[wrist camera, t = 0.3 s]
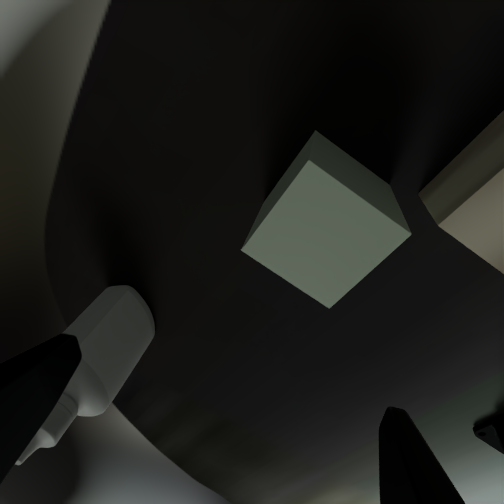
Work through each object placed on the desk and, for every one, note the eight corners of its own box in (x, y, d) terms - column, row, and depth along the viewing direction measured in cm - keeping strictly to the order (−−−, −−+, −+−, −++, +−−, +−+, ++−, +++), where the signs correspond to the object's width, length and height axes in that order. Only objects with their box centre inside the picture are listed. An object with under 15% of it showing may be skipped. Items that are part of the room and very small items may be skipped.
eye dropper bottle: (162, 294, 25) (49, 449, 15) (155, 341, 28) (57, 498, 18) (109, 275, 26) (-36, 417, 16) (108, 325, 29) (-15, 470, 19)
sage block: (389, 184, 18) (411, 234, 13) (329, 246, 21) (329, 308, 15) (315, 130, 17) (308, 159, 12) (264, 201, 20) (241, 250, 15)
